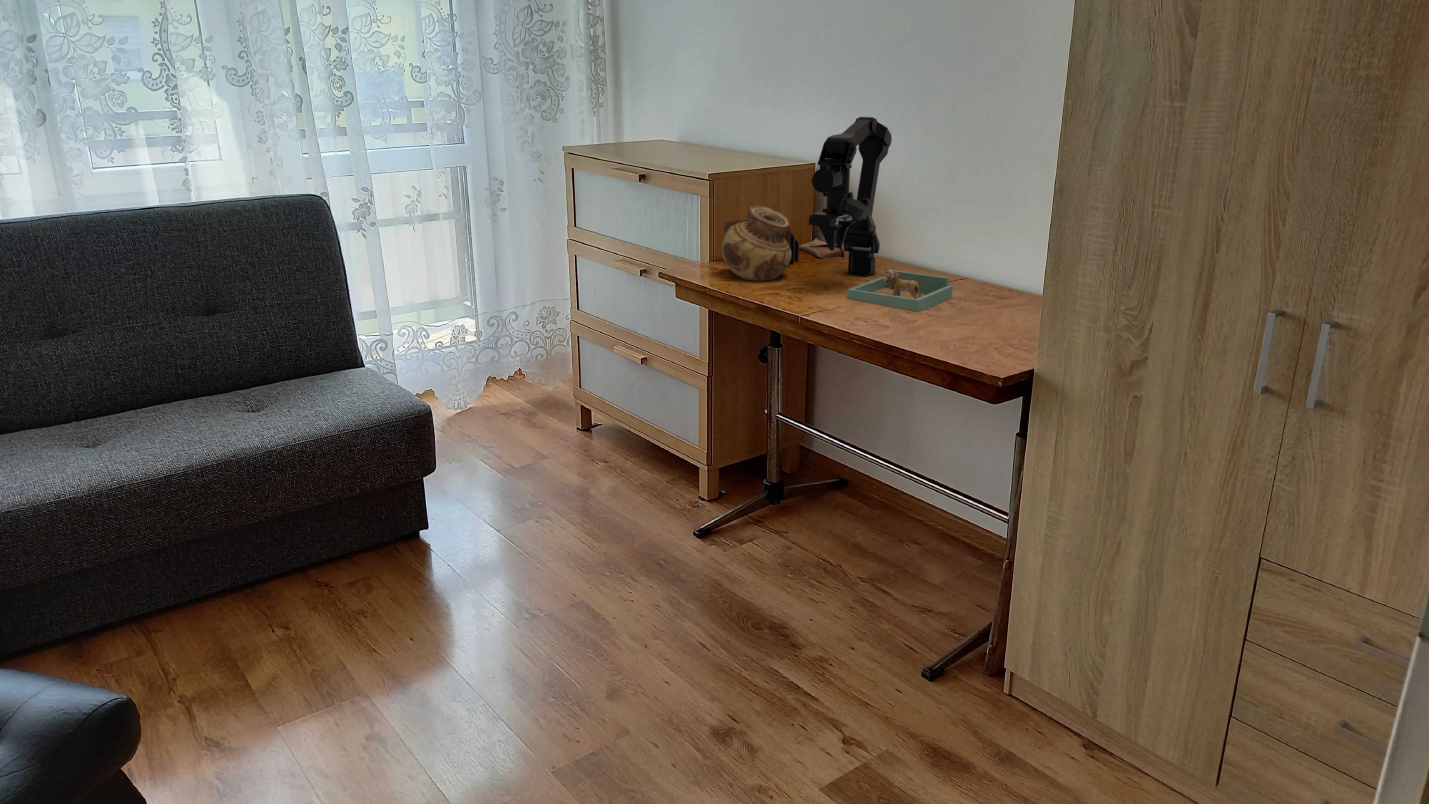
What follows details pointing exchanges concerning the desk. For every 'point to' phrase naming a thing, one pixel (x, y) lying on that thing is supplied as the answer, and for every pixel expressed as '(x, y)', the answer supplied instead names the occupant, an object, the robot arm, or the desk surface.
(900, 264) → the desk surface
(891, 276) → the lion figurine
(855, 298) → the cold frame
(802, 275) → the desk surface
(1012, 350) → the desk surface
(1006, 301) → the desk surface
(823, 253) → the sunglasses case
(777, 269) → the clay pot
